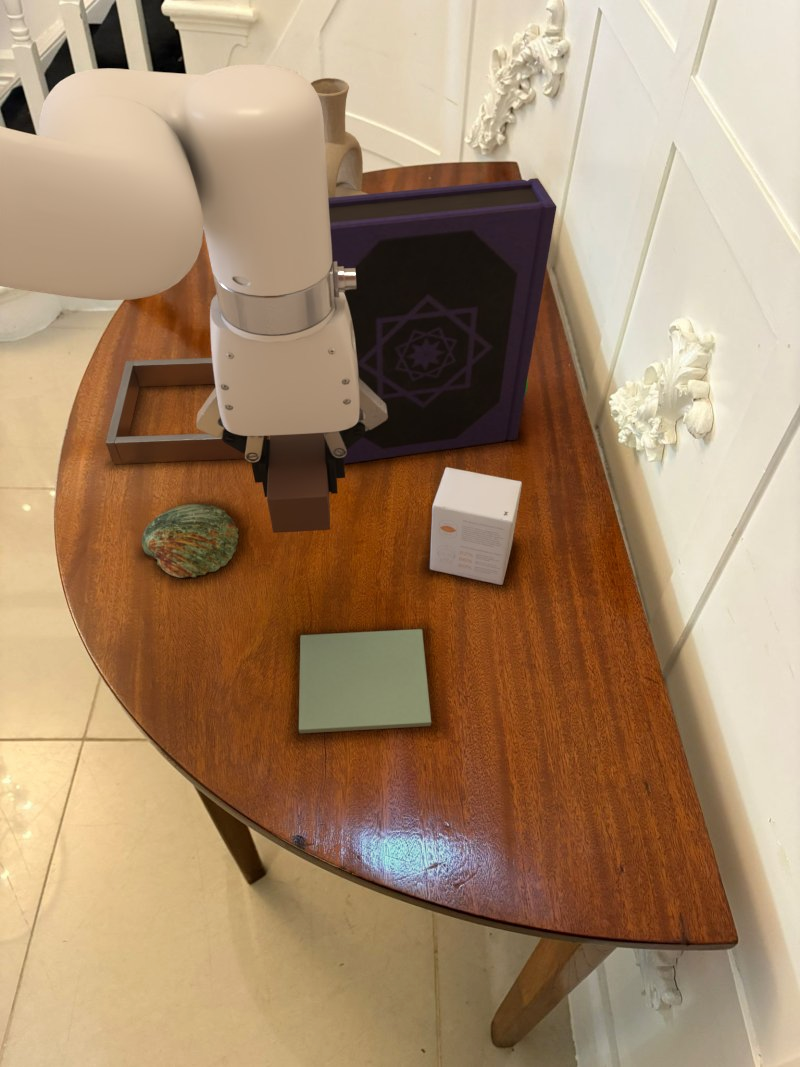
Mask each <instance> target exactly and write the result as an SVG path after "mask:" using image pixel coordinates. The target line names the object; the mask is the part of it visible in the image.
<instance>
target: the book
mask: <svg viewBox="0 0 800 1067" xmlns="http://www.w3.org/2000/svg"><path fill="white" fill-rule="evenodd" d="M328 201H329V217H330V231H331V244H332V262H334V261H337V267H339V266H344V268H355V270H356V290H345V292H344V294H345V297H346V300H347V303H348V306H349V310H350V314H351V319H352V323H353V329H354V336H355V344H356V354H357V363H358V374H359V378H360V379H361V380H362V381H363V382H364V383H365V384H366V385H367V386H368V387H369V388H370V389H371V390H372V391H373V392H374V393H375V394H376V395H377V396H378V397H379V398H380V399H382V400H383V401H384V402H385V403H386V405H387V412H388V419H387V420H386V421H385V422H383V423H381V424H380V425H378V426H376V427H375V428H373V429H371V430H368V431H366V433H365V435H364V436H363V437H362V438H361V439H359V440H358V441H357V442H356V443H354V444H353V445H352V446H351V447H349V448H348V449H347V454H346V456H345V457H344V465H345V464H351V463H352V464H353V463H359V462H366V461H373V460H380V459H387V458H396V457H401V456H408V455H416V454H422V453H423V454H424V453H430V452H437V451H445V450H452V449H458V448H459V449H460V448H465V447H473V446H474V447H475V446H480V445H487V444H494V443H495V444H496V443H501V442H505V441H515V440H518V436H519V435H518V434H519V430H520V424H521V417H522V411H523V406H524V402H525V401H524V400H525V398H524V395H525V389H526V383H527V378H528V379H529V371H530V365H531V360H532V355H533V354H532V353H533V347H534V341H535V336H536V330H537V326H538V318H539V313H540V308H541V307H540V306H541V300H542V295H543V289H544V285H545V284H544V283H545V278H546V271H547V265H548V259H549V255H550V254H549V253H550V248H551V243H552V242H551V241H552V235H553V232H554V231H553V230H554V225H555V218H556V213H557V207H558V206H557V205H556V203H555V201H554V200H553V199H552V197H551V196H550V195H549V193H548V191H547V190H546V188H545V186H544V185H543V183H542V182H541V181H540V179H539V178H538V177H535V178H529V179H528V180H526V179H512V180H502V181H494V182H493V181H492V182H482V183H481V182H480V183H471V184H462V185H461V184H460V185H450V186H449V185H448V186H441V187H440V186H439V187H430V188H429V187H428V188H418V189H408V190H397V191H386V192H385V191H384V192H376V193H367V194H364V195H354V196H343V197H332V198H328ZM525 396H526V395H525ZM360 410H361V409H360ZM360 410H359V412H360Z"/></svg>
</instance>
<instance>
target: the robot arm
mask: <svg viewBox="0 0 800 1067" xmlns="http://www.w3.org/2000/svg"><path fill="white" fill-rule="evenodd" d="M38 123H39V124H38V135H37V134H34V133H28V132H24V131H20V130H16V129H12V128H8V127H5V126H1V125H0V287H2V288H8V289H15V290H19V291H20V290H22V291H28V292H35V293H40V294H41V293H42V294H47V295H54V296H61V297H70V298H78V299H86V300H98V301H128V300H129V301H131V300H138V299H143V298H149V297H153V296H155V295H157V294H158V295H159V294H160V293H163V292H165V291H167V290H169V289H171V288H172V287H174V286H176V285H177V284H179V282H180V281H182V280H183V279H184V278H185V277H186V276H187V275H188V274H189V273H190V272H191V269H193V267H194V265H195V264H196V262H197V260H198V257H199V255H200V251H201V249H202V246H203V237H205V242H206V246H207V247H206V248H207V252H208V256H209V261H210V266H211V272H212V277H213V282H214V287H215V292H216V294H215V295H214V296H213V298H212V299H211V301H210V310H209V311H210V312H209V327H210V330H209V331H210V350H211V358H212V362H213V371H214V379H215V384H214V386H215V387H214V388H213V390H212V392H210V394H209V396H208V397H207V398H206V400H205V402H204V403H203V404H202V406H201V407H200V409H199V410H198V412H197V413H196V422H195V428H196V429H197V430H199V431H201V432H202V433H204V434H206V433H207V434H209V435H212V436H214V437H217V438H218V437H220V438H222V440H223V442H225V443H226V444H228V445H229V446H231V447H233V448H235V449H236V450H238V451H240V452H242V453H243V454H245V459H244V460H245V461H247V462H248V463H250V464H251V469H252V470H251V471H252V474H253V479H254V483H256V484H257V483H258V484H259V483H262V489H263V493H264V498H267V486H268V466H269V443H270V440H269V438H268V436H269V435H289V434H308V433H323V435H324V438H325V455H326V467H327V477H328V488H329V493H330V494H334V495H335V494H338V479H346V467H345V464H344V457H345V456H346V454H347V449H348V448H349V447H351V446H352V445H353V444H354V443H356V442H357V441H358V440H359V439H361V438H362V437H363V436H364V435H365V433H366V431H368V430H371V429H373V428H375V427H376V426H378V425H380V424H381V423H383V422H385V421H386V420H387V419H388V412H387V405H386V403H385V402H384V401H383V400H382V399H380V398H379V397H378V396H377V395H376V394H375V393H374V392H373V391H372V390H371V389H370V388H369V387H368V386H367V385H366V384H365V383H364V382H363V381H362V380H361V379H360V378H359V374H358V363H357V354H356V344H355V336H354V329H353V323H352V319H351V314H350V310H349V306H348V303H347V300H346V297H345V294H344V292H345V290H356V270H355V268H344V266H339V267H337V261H334V262H332V244H331V231H330V217H329V201H328V186H327V170H326V154H325V138H324V123H323V114H322V107H321V103H320V99H319V97H318V95H317V93H316V91H315V89H314V87H313V86H312V85H311V82H310V81H309V80H308V79H307V78H306V77H304V76H303V75H301V74H300V73H298V72H297V71H295V70H291V69H289V68H286V67H282V66H279V65H272V64H264V63H263V64H262V63H245V64H244V63H243V64H235V65H229V66H224V67H221V68H218V69H215V70H212V71H209V72H207V73H177V72H163V71H152V70H151V71H150V70H140V69H139V70H137V69H127V68H126V69H125V68H108V67H107V68H92V69H86V70H82V71H78V72H75V73H72V74H71V75H69V76H66V77H65V78H64V79H62V80H60V81H59V82H58V83H57V84H55V86H54V87H53V88H52V89H51V90H50V92H49V93H48V95H47V96H46V98H45V99H44V102H43V104H42V107H41V110H40V115H39V122H38ZM360 409H361V410H360ZM359 410H360V412H359Z"/></svg>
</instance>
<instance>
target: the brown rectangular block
mask: <svg viewBox="0 0 800 1067" xmlns="http://www.w3.org/2000/svg"><path fill="white" fill-rule="evenodd" d="M268 439H269V440H270V443H269V466H268V486H267V497H266V501H267V506H268V513H269V517H270V523H271V528H272V533H273V534H278V533H279V534H280V533H282V534H283V533H299V532H315V531H330V530H331V507H330V506H331V505H330V504H331V503H330V492H329V488H328V477H327V467H326V455H325V438H324V435H323V433H308V434H289V435H268Z"/></svg>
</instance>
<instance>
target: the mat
mask: <svg viewBox="0 0 800 1067" xmlns="http://www.w3.org/2000/svg"><path fill="white" fill-rule="evenodd" d="M299 642H300V645H299V646H300V648H299V649H300V650H299V652H300V653H299V694H298V695H299V698H298V699H299V700H298V702H299V703H298V732H299V734H314V733H315V734H316V733H331V732H351V731H364V730H365V731H367V730H382V729H399V728H400V729H401V728H419V727H431V726H432V715H431V705H430V696H429V695H430V694H429V684H428V675H427V664H426V656H425V655H426V653H425V645H424V633H423V629H422V628H417V629H415V628H414V629H397V630H378V631H377V630H376V631H358V632H339V633H320V634H319V633H318V634H301V635H300V640H299Z"/></svg>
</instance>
